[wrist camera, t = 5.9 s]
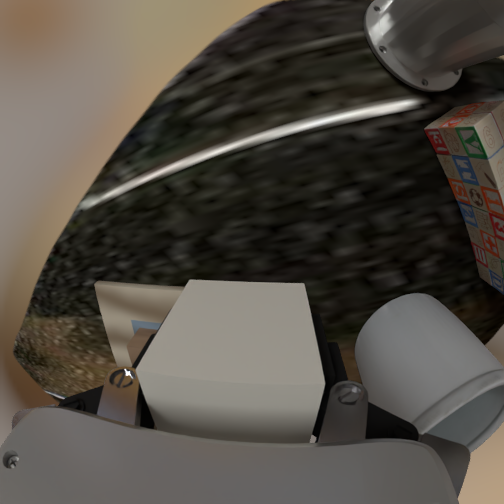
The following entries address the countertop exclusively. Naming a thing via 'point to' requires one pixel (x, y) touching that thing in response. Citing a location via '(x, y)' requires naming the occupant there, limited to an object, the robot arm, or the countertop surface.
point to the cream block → (235, 364)
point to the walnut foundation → (138, 342)
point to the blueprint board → (132, 311)
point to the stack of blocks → (476, 177)
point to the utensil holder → (431, 370)
